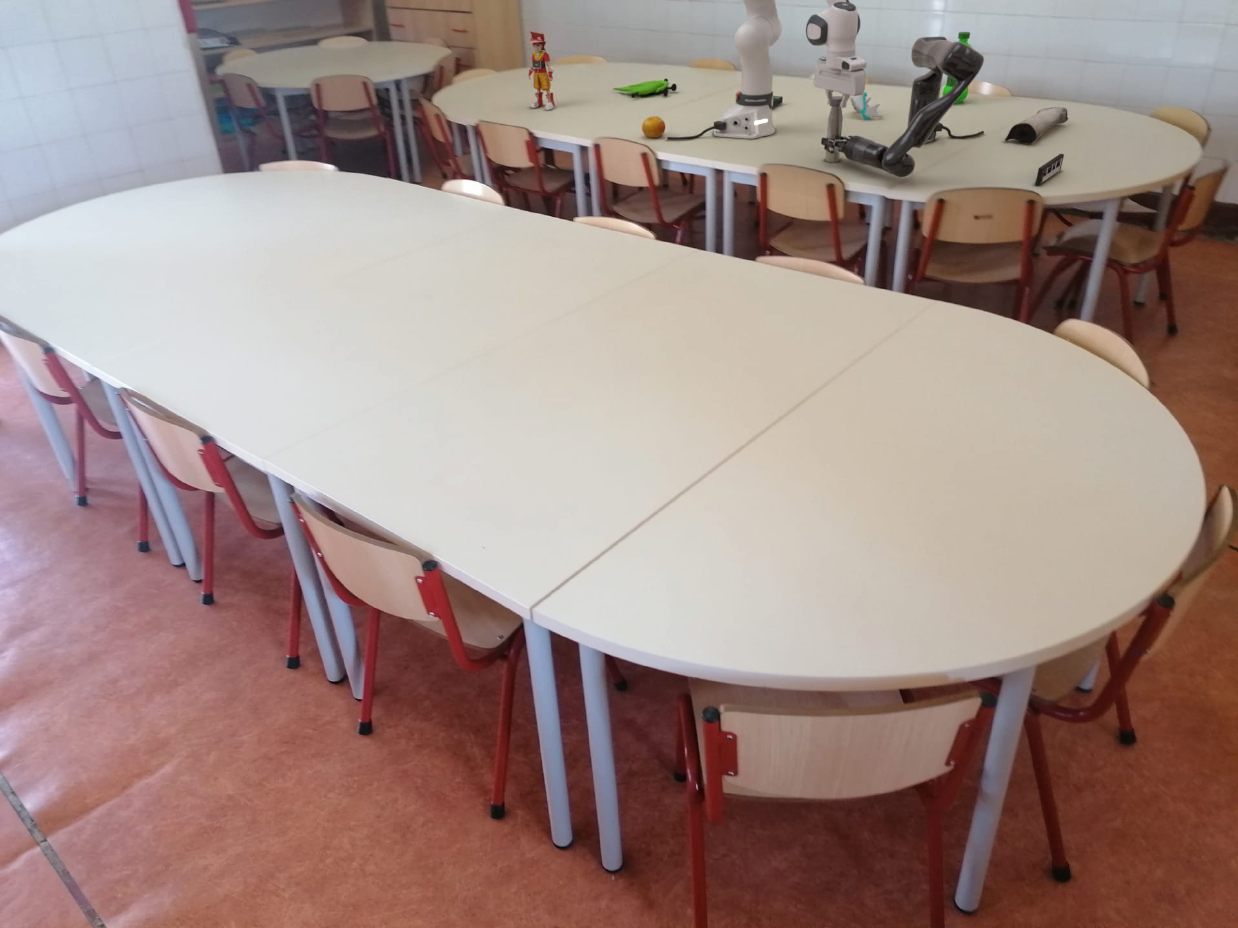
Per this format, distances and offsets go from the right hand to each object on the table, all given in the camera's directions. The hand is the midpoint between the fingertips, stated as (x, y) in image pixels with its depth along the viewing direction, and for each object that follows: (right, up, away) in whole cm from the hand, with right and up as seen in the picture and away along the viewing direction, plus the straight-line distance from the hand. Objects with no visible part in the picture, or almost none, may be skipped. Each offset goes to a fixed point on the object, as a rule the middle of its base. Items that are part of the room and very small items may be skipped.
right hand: (828, 139), depth 299 cm
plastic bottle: (+63, +35, +56) cm, 91 cm away
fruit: (-57, +14, +37) cm, 69 cm away
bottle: (+2, -6, +2) cm, 7 cm away
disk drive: (-11, +37, +65) cm, 76 cm away
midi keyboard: (+62, -21, -25) cm, 70 cm away
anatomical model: (+25, +26, +46) cm, 58 cm away
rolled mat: (+76, +7, +14) cm, 78 cm away
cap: (+1, +10, -10) cm, 14 cm away
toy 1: (-103, +44, +84) cm, 140 cm away
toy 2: (-60, +56, +98) cm, 128 cm away
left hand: (+1, +8, -8) cm, 11 cm away
